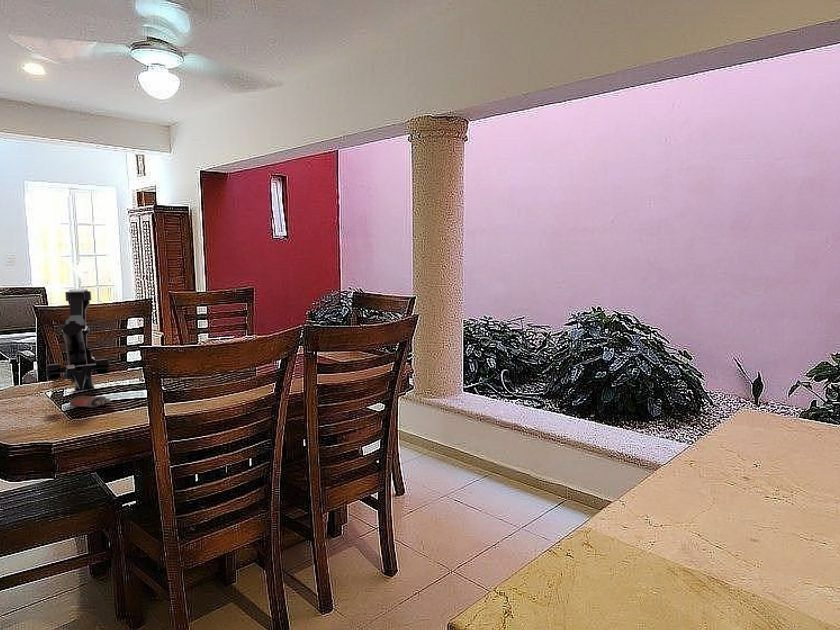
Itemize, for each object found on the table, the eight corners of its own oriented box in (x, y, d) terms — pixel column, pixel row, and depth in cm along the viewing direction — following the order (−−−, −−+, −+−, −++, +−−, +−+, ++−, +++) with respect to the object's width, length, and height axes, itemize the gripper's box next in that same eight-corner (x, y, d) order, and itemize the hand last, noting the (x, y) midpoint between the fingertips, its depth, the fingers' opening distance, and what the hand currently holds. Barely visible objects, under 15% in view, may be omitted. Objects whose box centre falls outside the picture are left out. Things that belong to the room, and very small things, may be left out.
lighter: (69, 408, 195) (96, 409, 193) (69, 398, 195) (95, 399, 193) (87, 403, 203) (112, 404, 201) (87, 394, 203) (112, 395, 201)
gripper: (105, 363, 213) (111, 398, 205) (45, 369, 203) (49, 406, 195) (106, 344, 206) (112, 380, 198) (44, 350, 195) (48, 388, 188)
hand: (81, 389), depth 195 cm, fingers closed
